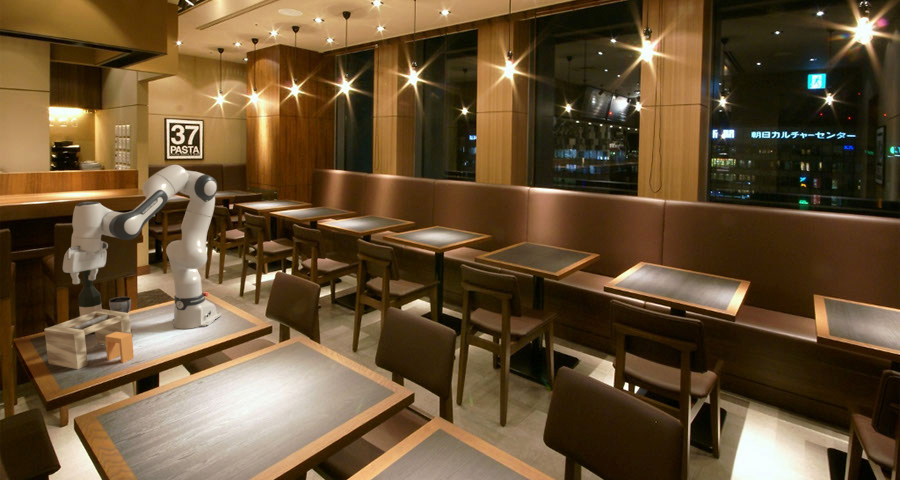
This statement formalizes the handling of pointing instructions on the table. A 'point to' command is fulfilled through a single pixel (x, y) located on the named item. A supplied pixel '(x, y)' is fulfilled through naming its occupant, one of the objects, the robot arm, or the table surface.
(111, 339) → the upright wooden block
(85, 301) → the wine bottle
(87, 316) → the shelf
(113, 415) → the table surface
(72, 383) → the table surface
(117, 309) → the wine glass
